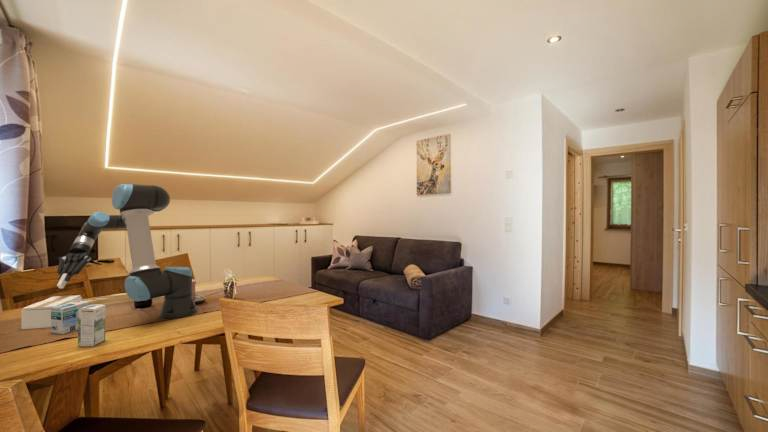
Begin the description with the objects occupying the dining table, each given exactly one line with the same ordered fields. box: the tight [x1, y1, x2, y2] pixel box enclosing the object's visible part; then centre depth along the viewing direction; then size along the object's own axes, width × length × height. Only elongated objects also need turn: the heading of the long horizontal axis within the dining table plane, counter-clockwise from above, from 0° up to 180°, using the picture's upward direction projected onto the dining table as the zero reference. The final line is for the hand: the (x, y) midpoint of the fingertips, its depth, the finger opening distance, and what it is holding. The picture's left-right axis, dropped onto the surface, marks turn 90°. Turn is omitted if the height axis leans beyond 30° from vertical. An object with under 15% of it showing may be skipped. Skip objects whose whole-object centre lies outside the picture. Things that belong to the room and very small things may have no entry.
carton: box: [20, 296, 83, 330], centre depth 147 cm, size 18×12×9 cm, turn 16°
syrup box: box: [77, 303, 107, 347], centre depth 125 cm, size 6×6×14 cm
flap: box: [40, 294, 82, 303], centre depth 151 cm, size 9×11×1 cm
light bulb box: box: [50, 300, 91, 335], centre depth 138 cm, size 11×7×11 cm, turn 168°
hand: (60, 286), depth 151 cm, fingers closed
